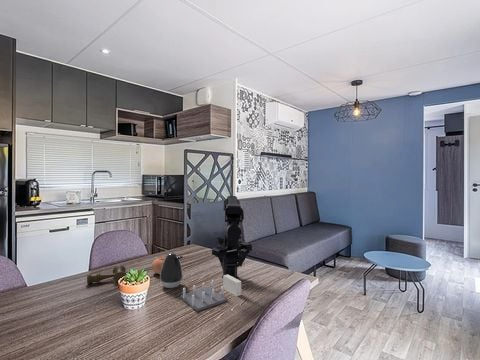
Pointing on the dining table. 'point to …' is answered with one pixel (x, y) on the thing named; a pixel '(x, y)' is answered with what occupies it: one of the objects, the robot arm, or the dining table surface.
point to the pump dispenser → (171, 271)
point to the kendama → (107, 275)
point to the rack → (203, 297)
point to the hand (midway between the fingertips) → (232, 268)
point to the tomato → (157, 265)
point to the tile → (232, 285)
